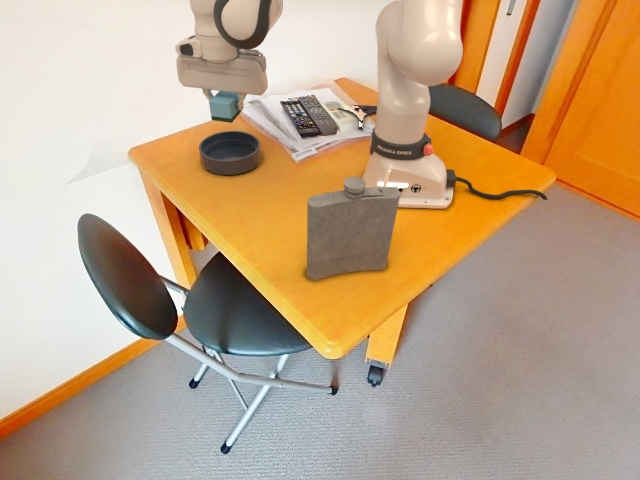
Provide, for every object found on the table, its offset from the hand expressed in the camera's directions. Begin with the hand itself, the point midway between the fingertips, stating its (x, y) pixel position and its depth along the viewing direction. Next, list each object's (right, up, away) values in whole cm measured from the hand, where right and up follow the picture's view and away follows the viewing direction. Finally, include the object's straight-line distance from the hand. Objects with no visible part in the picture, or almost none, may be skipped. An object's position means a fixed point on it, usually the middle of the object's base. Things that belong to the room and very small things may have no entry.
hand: (226, 108), depth 94 cm
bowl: (-1, -10, +12) cm, 15 cm away
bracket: (+35, +7, +31) cm, 48 cm away
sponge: (0, -1, +1) cm, 2 cm away
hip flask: (+27, -37, -16) cm, 49 cm away
